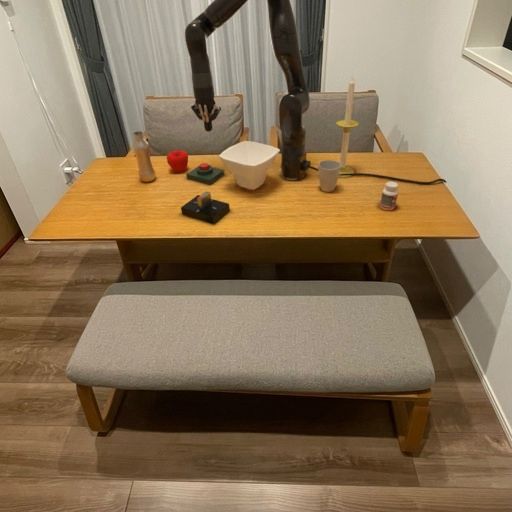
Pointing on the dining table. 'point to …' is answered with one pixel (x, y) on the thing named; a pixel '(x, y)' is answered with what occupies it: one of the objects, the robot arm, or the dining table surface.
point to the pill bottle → (389, 196)
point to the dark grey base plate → (205, 175)
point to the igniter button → (204, 166)
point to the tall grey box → (204, 200)
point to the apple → (177, 160)
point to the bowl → (249, 162)
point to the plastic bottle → (143, 157)
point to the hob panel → (206, 210)
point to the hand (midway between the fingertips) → (208, 130)
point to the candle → (347, 130)
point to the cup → (328, 174)
